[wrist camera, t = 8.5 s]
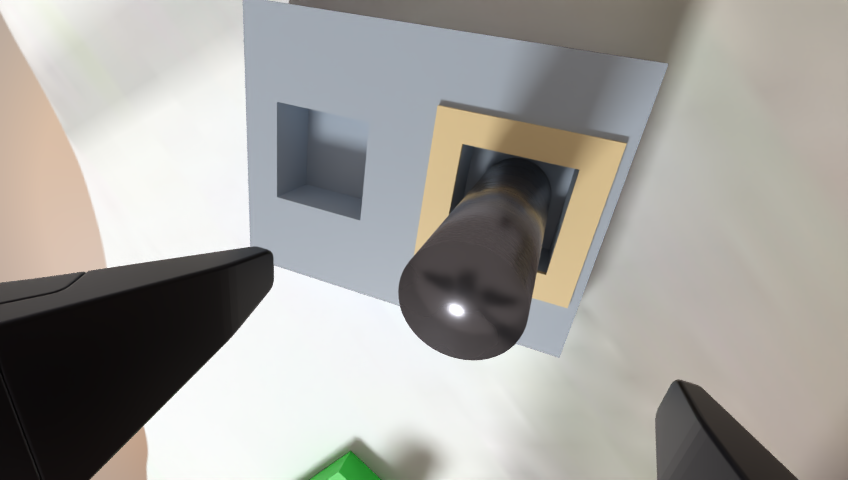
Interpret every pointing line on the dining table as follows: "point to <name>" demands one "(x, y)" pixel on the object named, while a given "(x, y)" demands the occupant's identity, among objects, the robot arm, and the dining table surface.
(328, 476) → the mechanical part
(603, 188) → the socket board
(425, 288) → the pin
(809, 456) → the dining table surface
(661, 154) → the dining table surface
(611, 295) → the dining table surface
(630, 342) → the dining table surface
